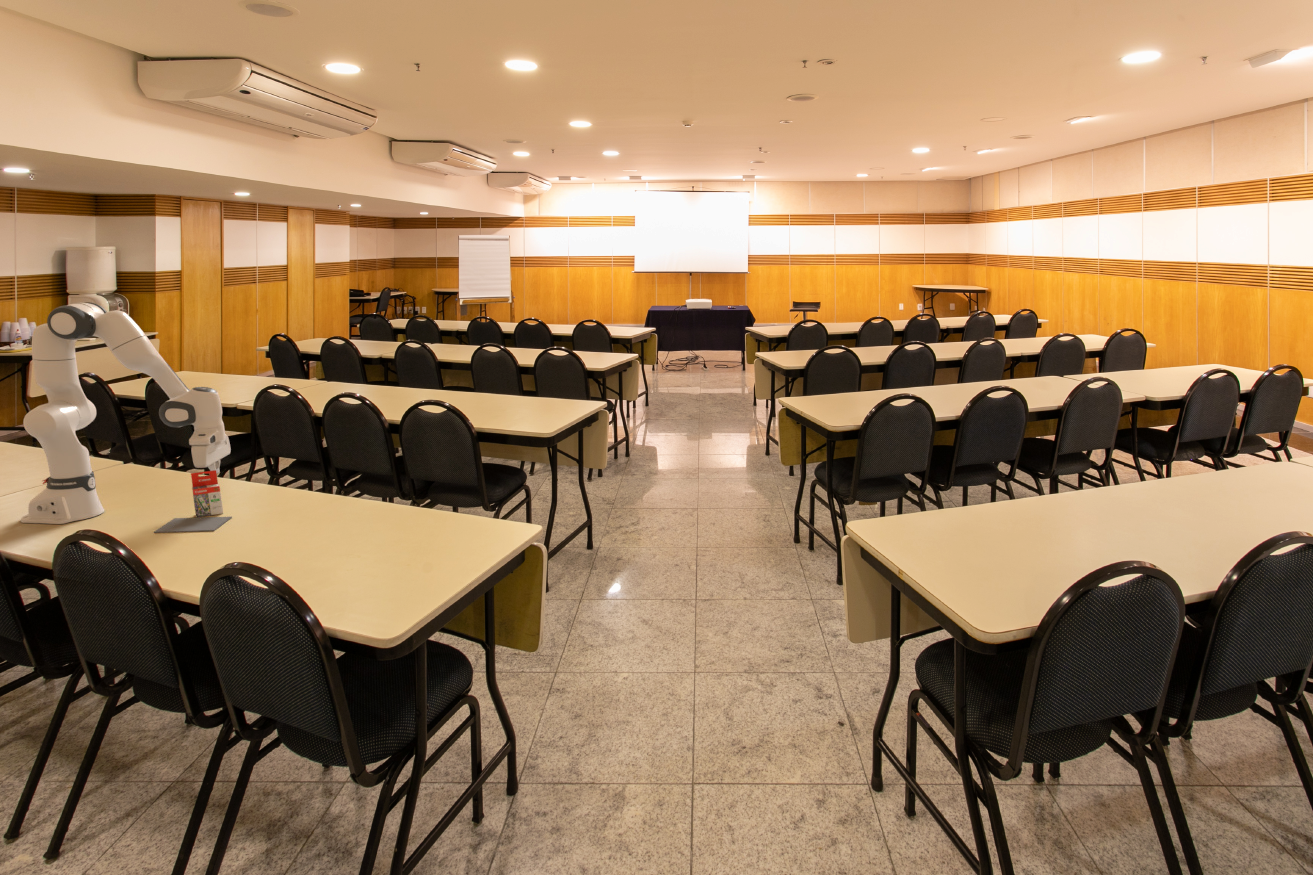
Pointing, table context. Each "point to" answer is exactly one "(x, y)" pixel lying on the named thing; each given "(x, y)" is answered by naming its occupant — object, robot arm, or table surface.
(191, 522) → the mat
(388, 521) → the table surface
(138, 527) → the table surface
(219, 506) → the ink box
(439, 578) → the table surface
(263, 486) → the table surface
